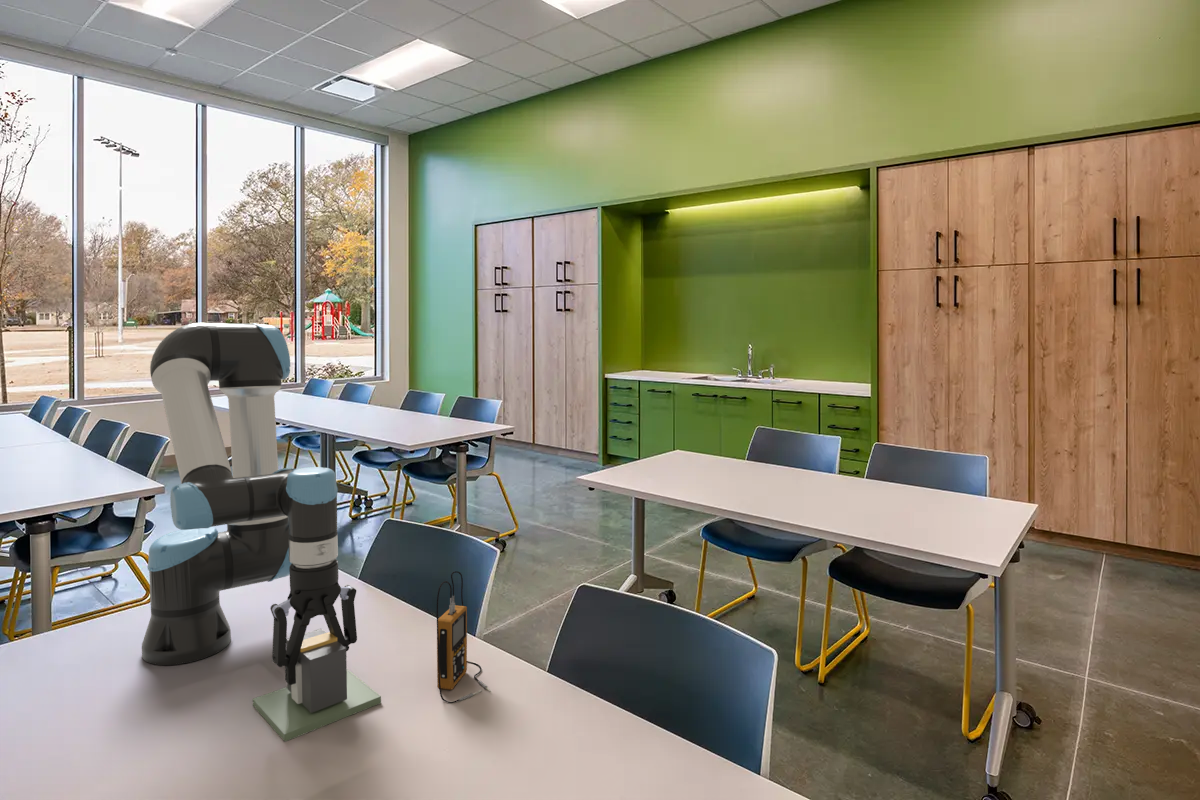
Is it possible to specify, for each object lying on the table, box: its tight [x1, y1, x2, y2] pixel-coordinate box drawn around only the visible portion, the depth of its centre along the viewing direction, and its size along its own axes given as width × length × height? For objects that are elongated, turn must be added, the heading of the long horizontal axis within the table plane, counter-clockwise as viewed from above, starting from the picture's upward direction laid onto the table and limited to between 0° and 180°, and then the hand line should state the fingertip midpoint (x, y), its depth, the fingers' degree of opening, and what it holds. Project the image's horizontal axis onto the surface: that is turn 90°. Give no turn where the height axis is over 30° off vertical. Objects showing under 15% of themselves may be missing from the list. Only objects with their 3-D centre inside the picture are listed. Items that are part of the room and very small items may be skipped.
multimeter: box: [436, 571, 492, 704], centre depth 122 cm, size 15×10×20 cm
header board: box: [252, 668, 382, 742], centre depth 115 cm, size 14×16×5 cm
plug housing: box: [286, 628, 348, 713], centre depth 114 cm, size 10×6×10 cm, turn 46°
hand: (317, 692), depth 115 cm, fingers closed on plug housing, 6 cm apart
